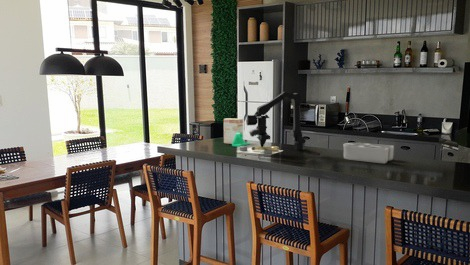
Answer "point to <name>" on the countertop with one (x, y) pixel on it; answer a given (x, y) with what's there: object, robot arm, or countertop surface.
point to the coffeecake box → (232, 129)
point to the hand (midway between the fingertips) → (261, 147)
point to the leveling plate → (257, 151)
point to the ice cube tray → (368, 152)
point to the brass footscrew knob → (274, 148)
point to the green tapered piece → (239, 140)
